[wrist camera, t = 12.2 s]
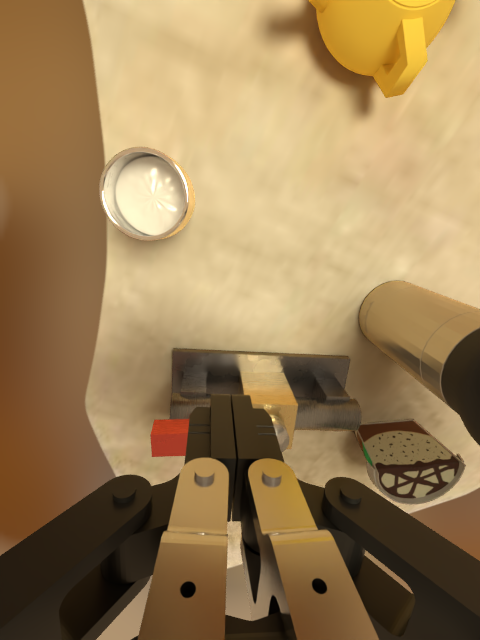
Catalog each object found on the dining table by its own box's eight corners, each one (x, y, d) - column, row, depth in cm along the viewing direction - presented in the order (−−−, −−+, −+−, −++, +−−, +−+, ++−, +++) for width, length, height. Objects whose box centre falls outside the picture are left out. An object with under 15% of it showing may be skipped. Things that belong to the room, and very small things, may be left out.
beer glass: (177, 243, 41) (159, 261, 27) (126, 207, 39) (78, 205, 25) (210, 194, 39) (210, 185, 25) (159, 154, 38) (128, 120, 24)
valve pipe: (347, 356, 47) (377, 388, 39) (334, 423, 51) (359, 466, 42) (173, 348, 45) (165, 380, 36) (172, 419, 48) (163, 464, 40)
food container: (341, 458, 53) (369, 512, 43) (343, 424, 51) (373, 473, 42) (417, 451, 54) (461, 503, 44) (422, 418, 52) (469, 464, 42)
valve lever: (285, 413, 39) (290, 427, 36) (283, 440, 40) (288, 455, 37) (154, 416, 38) (150, 431, 35) (156, 443, 39) (152, 459, 36)
